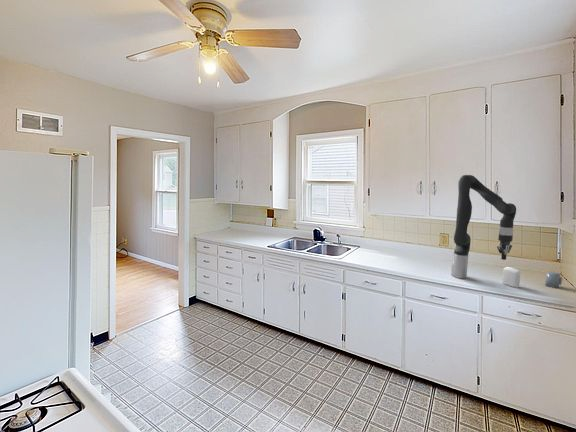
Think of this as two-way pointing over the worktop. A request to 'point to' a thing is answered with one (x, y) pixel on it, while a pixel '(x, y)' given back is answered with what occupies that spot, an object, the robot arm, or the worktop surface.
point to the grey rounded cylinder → (553, 279)
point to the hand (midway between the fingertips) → (503, 259)
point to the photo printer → (511, 277)
